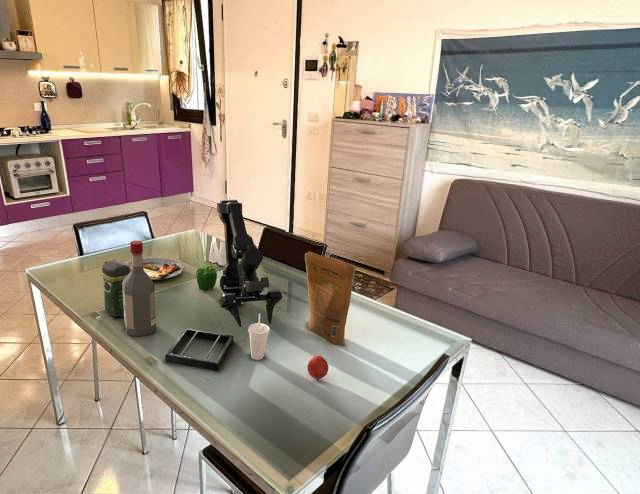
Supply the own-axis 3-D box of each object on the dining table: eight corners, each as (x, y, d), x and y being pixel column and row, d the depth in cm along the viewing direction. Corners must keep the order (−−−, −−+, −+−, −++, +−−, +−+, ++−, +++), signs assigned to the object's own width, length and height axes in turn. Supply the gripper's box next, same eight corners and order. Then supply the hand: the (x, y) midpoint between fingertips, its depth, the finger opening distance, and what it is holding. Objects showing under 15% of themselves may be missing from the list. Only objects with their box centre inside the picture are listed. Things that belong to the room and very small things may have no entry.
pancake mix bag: (337, 351, 137) (348, 268, 127) (296, 325, 151) (303, 248, 141) (352, 344, 141) (363, 263, 131) (310, 320, 155) (318, 245, 145)
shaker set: (231, 267, 198) (232, 244, 194) (224, 269, 195) (224, 245, 191) (215, 259, 206) (215, 237, 202) (207, 261, 203) (208, 238, 199)
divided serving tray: (185, 334, 141) (185, 327, 140) (233, 342, 138) (233, 335, 137) (165, 361, 127) (165, 354, 126) (218, 371, 124) (218, 363, 123)
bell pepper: (191, 289, 173) (191, 266, 170) (201, 282, 180) (201, 259, 177) (210, 294, 170) (210, 270, 167) (219, 286, 178) (220, 263, 174)
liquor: (128, 338, 137) (122, 248, 127) (124, 324, 145) (118, 239, 135) (157, 333, 141) (154, 245, 131) (151, 320, 149) (148, 236, 138)
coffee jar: (136, 313, 153) (133, 263, 147) (115, 320, 148) (111, 269, 141) (121, 303, 159) (118, 255, 153) (101, 310, 154) (97, 261, 147)
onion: (304, 372, 125) (307, 348, 122) (324, 372, 126) (327, 348, 123) (308, 385, 120) (311, 360, 117) (329, 385, 120) (332, 360, 117)
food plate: (194, 271, 191) (194, 264, 190) (156, 288, 172) (156, 280, 171) (152, 258, 203) (152, 251, 202) (113, 273, 185) (112, 265, 183)
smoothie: (266, 350, 135) (268, 309, 130) (269, 361, 129) (272, 320, 124) (245, 350, 134) (247, 310, 129) (248, 362, 128) (250, 320, 123)
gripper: (223, 269, 129) (229, 320, 123) (283, 266, 134) (292, 315, 128) (217, 282, 139) (223, 331, 133) (273, 279, 143) (281, 325, 137)
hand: (255, 325), depth 132 cm, fingers open, 9 cm apart
